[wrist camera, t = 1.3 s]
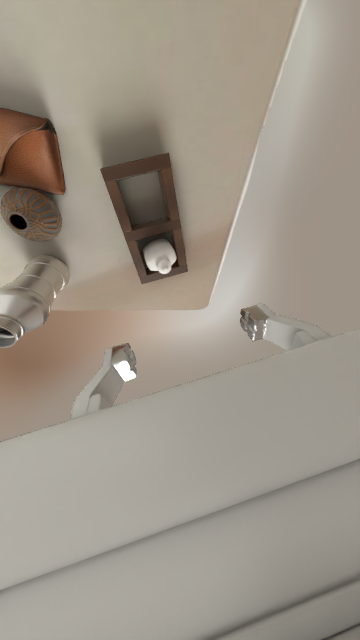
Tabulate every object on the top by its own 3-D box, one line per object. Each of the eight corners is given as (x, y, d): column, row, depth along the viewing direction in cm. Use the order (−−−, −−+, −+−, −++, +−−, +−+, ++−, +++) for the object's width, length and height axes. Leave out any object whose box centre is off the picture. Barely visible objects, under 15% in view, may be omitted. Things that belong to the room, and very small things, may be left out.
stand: (103, 170, 28) (100, 168, 25) (164, 155, 29) (168, 152, 26) (140, 276, 40) (141, 284, 37) (183, 264, 41) (188, 271, 38)
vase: (62, 192, 29) (42, 196, 22) (69, 237, 33) (54, 252, 26) (10, 182, 27) (-30, 182, 20) (24, 231, 30) (-5, 245, 24)
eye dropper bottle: (167, 260, 39) (180, 284, 30) (142, 256, 38) (146, 281, 28) (171, 239, 37) (185, 259, 28) (143, 235, 35) (149, 254, 26)
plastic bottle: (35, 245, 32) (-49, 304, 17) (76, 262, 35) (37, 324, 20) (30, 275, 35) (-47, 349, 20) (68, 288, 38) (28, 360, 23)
